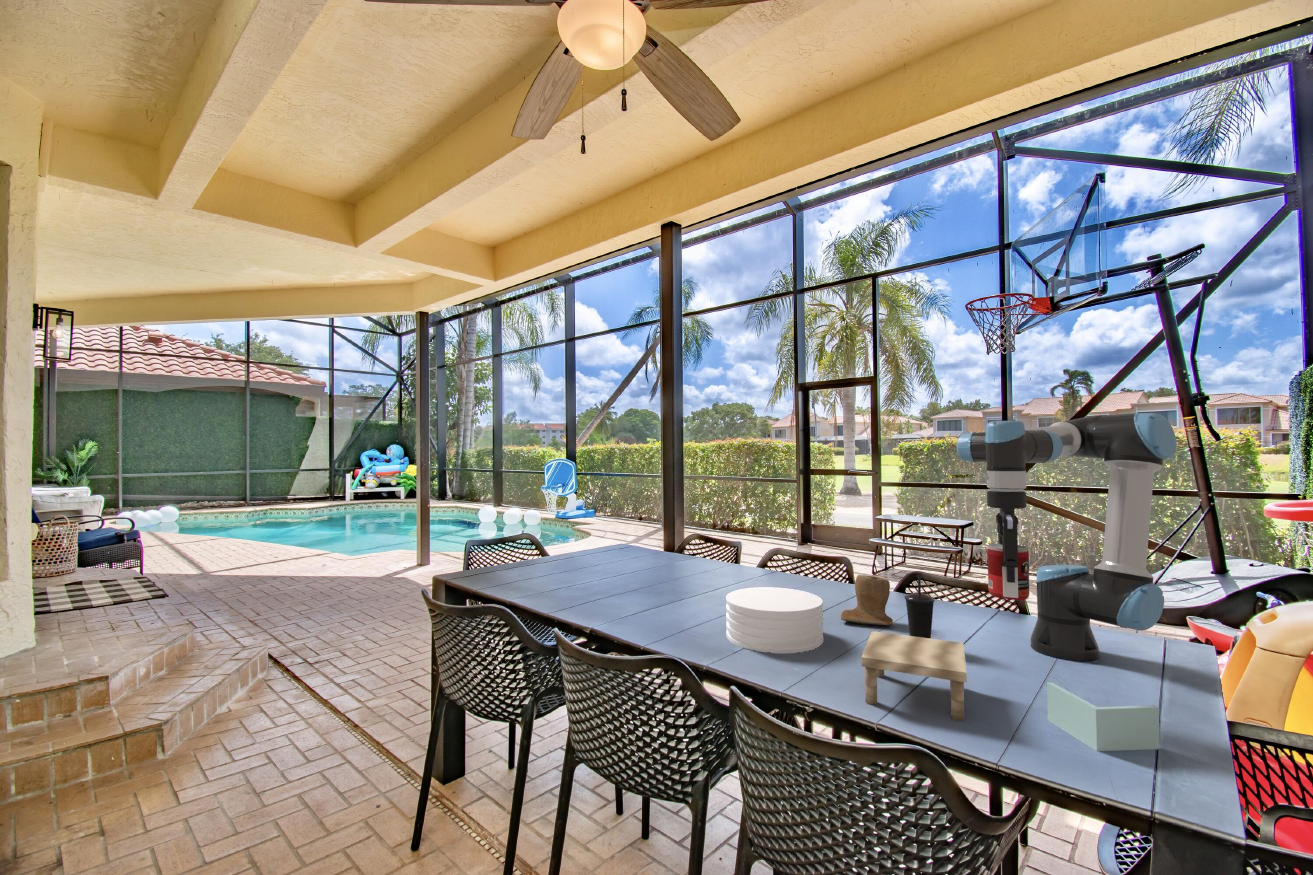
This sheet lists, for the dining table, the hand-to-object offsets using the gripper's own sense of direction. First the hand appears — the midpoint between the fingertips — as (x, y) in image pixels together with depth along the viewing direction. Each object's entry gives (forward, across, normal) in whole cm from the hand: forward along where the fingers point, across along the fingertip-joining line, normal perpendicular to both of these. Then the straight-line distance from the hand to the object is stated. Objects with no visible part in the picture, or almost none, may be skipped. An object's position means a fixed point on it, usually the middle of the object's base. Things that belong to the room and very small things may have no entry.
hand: (1008, 592), depth 127 cm
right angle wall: (+23, +12, +14) cm, 29 cm away
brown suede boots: (+23, -45, -35) cm, 62 cm away
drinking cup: (+23, -27, -19) cm, 40 cm away
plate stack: (+23, -18, -58) cm, 65 cm away
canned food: (+1, 0, 0) cm, 1 cm away
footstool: (+23, +8, -19) cm, 31 cm away
